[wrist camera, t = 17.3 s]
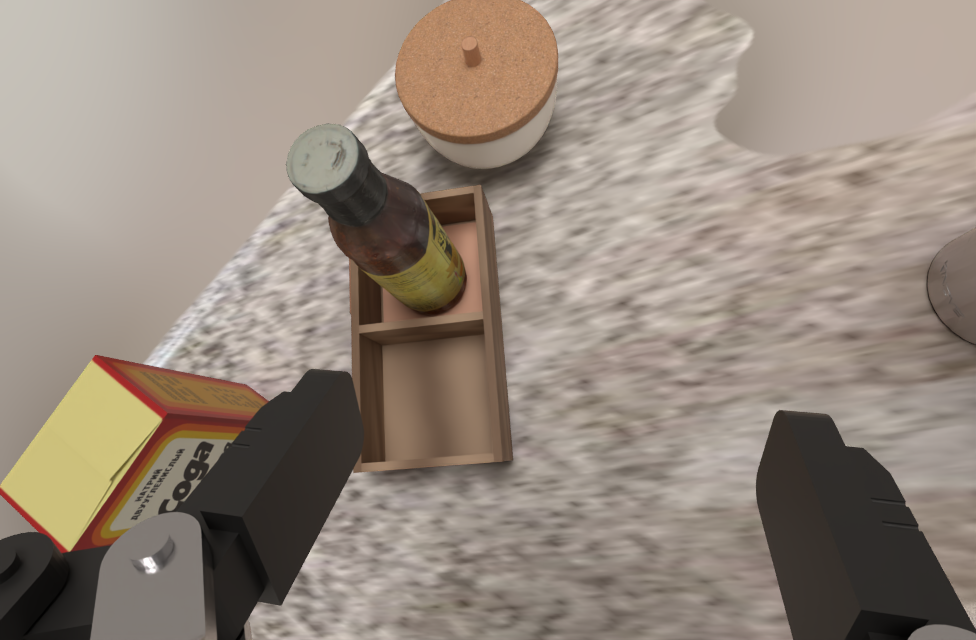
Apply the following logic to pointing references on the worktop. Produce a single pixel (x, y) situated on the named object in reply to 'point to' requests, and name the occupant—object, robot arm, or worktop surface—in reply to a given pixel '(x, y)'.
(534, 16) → the white lidded bowl
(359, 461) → the wooden compartment tray
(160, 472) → the baking soda box
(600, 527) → the worktop surface
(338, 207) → the sauce bottle
